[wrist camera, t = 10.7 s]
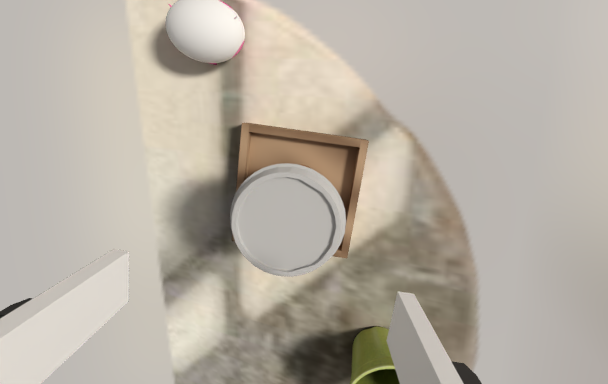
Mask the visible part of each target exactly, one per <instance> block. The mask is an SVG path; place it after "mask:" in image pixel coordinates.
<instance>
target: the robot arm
mask: <svg viewBox="0 0 608 384" xmlns="http://www.w3.org/2000/svg"><path fill="white" fill-rule="evenodd" d="M128 302H129V251H123V250H116V249H113V250H111V251H110V252H108V253H106V254H105V255H103V256H102V257H100V258H98V259H97V260H95V261H93V262H92V263H90V264H88V265H87V266H85V267H83V268H82V269H80V270H79V271H77V272H75V273H74V274H72V275H70V276H69V277H67V278H66V279H64V280H62V281H61V282H59V283H57V284H56V285H54V286H53V287H51V288H49V289H48V290H46V291H44V292H43V293H41V294H39V295H38V296H37V297H35V298H33V299H32V298H29V299H26V300H23V301H21V302H18V303H15V304H13V305H10V306H9V307H7V308H5V309H4V310H2V311H0V384H41V383H42V382H43V381H44V380H46V378H48V377H49V376H50V375H51V374H52V373H53V372H54V371H55V370H56V369H57V368H58V367H59V366H60V365H61V364H63V362H65V361H66V360H67V359H68V358H69V357H70V356H71V355H72V354H73V353H74V352H75V351H76V350H78V349H79V348H80V347H81V346H82V345H83V344H84V343H85V342H86V341H87V340H88V339H89V338H90V337H91V336H92V335H93V334H95V332H97V331H98V330H99V329H100V328H101V327H102V326H103V325H104V324H105V323H106V322H107V321H108V320H109V319H111V318H112V317H113V316H114V315H115V314H116V313H117V312H118V311H119V310H120V309H121V308H122V307H123V306H124V305H125V304H126V303H128ZM387 344H388V347H389V350H390V354H391V357H392V360H393V363H394V366H395V370H396V373H397V376H398V379H399V383H400V384H481V382H480V380H479V379H478V377H477V376H476V374H475V373H474V372H472V371H471V370H470V369H469V368H468V367H467V366H466V365H465V364H464V363H458V362H451V360H450V358H449V356H448V355H447V353H446V351H445V349H444V347H443V346H442V344H441V342H440V340H439V338H438V337H437V335H436V333H435V331H434V329H433V328H432V326H431V324H430V322H429V320H428V319H427V317H426V315H425V313H424V311H423V310H422V308H421V306H420V304H419V302H418V301H417V299H416V297H415V295H414V294H412V293H405V292H398V293H397V297H396V302H395V306H394V310H393V315H392V319H391V323H390V328H389V332H388V336H387Z"/></svg>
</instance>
